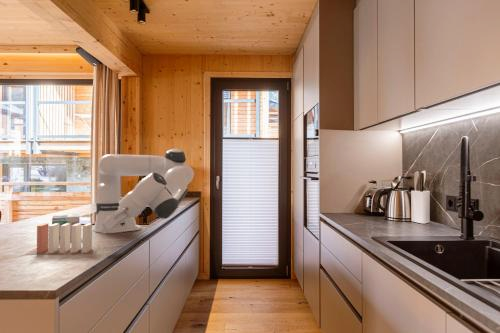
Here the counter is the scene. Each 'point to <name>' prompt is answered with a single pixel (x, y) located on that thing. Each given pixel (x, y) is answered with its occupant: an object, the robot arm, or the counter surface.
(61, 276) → the counter surface
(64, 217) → the light bulb box
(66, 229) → the domino
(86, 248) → the domino
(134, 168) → the robot arm
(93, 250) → the thin board
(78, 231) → the domino
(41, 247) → the domino
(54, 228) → the domino
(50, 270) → the counter surface
